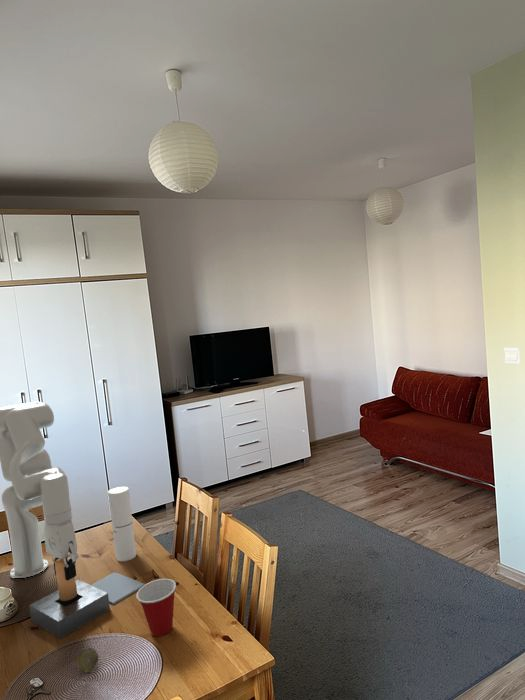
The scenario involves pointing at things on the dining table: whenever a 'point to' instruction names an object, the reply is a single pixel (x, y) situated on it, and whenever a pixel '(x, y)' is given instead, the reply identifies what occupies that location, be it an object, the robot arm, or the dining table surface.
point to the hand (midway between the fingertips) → (65, 575)
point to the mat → (117, 586)
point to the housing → (69, 609)
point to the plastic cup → (158, 605)
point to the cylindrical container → (122, 523)
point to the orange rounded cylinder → (64, 582)
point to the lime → (88, 660)
